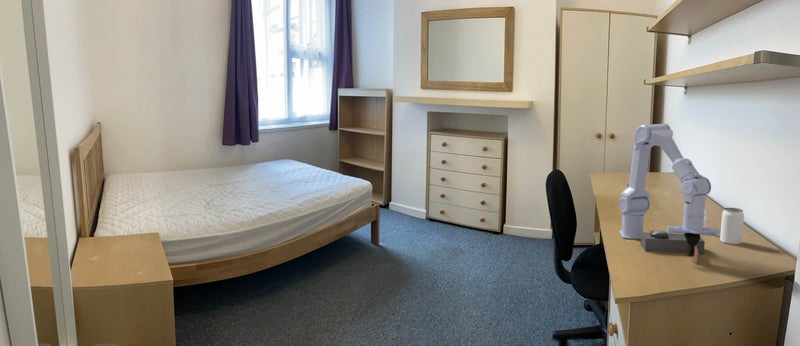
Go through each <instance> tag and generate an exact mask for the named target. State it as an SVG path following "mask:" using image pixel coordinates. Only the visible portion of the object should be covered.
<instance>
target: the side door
mask: <svg viewBox="0 0 800 346" xmlns="http://www.w3.org/2000/svg"><path fill="white" fill-rule="evenodd" d="M691 257H692V256H691ZM700 257H701V254H699V253H698V249H697V247H696V246H695V248H694V257H692V260H693V261H692V262H693V263H694V264H698V259H700Z"/></svg>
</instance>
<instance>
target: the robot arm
mask: <svg viewBox="0 0 800 346" xmlns="http://www.w3.org/2000/svg"><path fill="white" fill-rule="evenodd" d="M673 136H674V132H673V130H672V129H671V126H670V125H669V124H667V123H664V122H663V123H656V124H653V123H652V124H640V125H639V126H638V127H637V128H635V135H634V141H633V149H632V158H631V167H630V173H629V174H630V175H629V182H628V183H629V184H628V187H627V188H625V189H624V190H623V191H621V193H620V194H621V195H620V198H619V200H618V203H617V205H618V209H619V210H620V212H621V214H622V219H621V229H619V230H618V232H619V234H620V236H621V237H622V239H633V240H635V239H636V240H641V232H644V227H645V226H644V225H645V215H646V214H647V212H648V211H649V209H650V208H651V201H650V195H651V194H650V193H649V192H648V191H647V190H646V181H647V175H648V167H649V161H650V160H649V159H650V152H651V151H650V150H651V148H653V147H654V146H657V147H660V148H661V150H662V151H663V152H664V153H665V155H666V156H667V158H669V160H670V161H671V163H672V165H671V169H672V170H673V172H674V173H675V175H676V177H677V178H678V180H679V182H680V183H681V184H682V185H680V190H681V193H682V199H683V201H684V204H683V216H682V217H683V218H682V225H674V226H671V225H667V226H666V232H667V233H669V234H684V236H685V238H686V240H687V243H688V250H687V253H686V255H687V256H688V257H694V248H695V246H696V244H697V243H698V242H699V240H700V238H702V236H715V237H720V230H719V228H714V227H707V226H706V227H703V225H704V213H705V212H706V211H705V208H706V198H707V197H706V196H707V195H709V194H710V193H711V190H712V183H711V182H710V180H709V178H708V177H706V176H704V175H702V174H700V173H699V171H698V170H697V169H696V167H695V166H694V164H693V162H692V160H691V159H689V158H685V157H683V154H682V153H681V151H680V149H679V147H678V146H677V144H676V141H675V140H674V138H673Z"/></svg>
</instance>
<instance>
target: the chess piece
mask: <svg viewBox="0 0 800 346" xmlns="http://www.w3.org/2000/svg"><path fill="white" fill-rule="evenodd" d="M706 208H707V207H705V213H704V225H703V227H706V228H707V225H706V221H707V220H708V218H707V217H708V212H707V211H708V210H707V209H706Z"/></svg>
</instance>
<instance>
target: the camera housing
mask: <svg viewBox="0 0 800 346" xmlns="http://www.w3.org/2000/svg"><path fill="white" fill-rule="evenodd" d="M705 243H706V242H705V239H703V238H702V237H701V238H700V240H699V242H698V243H697V244H696V247H697V249H698V253H699V254H700V255H704V253H705ZM640 246H641V247H642V249H643V250H644V252H655V253H657V252H658V253H673V254H674V253H675V254H687V250H688V243H687V240H686V238H685V236H684V234H681V233H671V234H669V233H667V231H664V230H650V232H644V231H643V232H641V239H640Z"/></svg>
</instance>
